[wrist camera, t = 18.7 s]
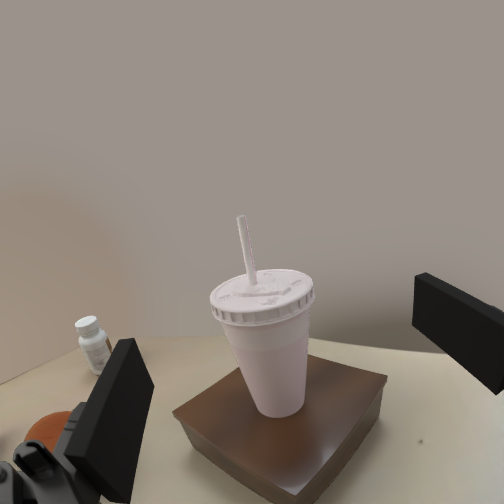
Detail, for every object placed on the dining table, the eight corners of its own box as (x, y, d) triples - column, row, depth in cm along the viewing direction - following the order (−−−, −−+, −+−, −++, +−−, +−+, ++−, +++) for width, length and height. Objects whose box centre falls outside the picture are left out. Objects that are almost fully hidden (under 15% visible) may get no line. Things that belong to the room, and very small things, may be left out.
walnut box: (381, 414, 21) (387, 375, 20) (299, 521, 13) (295, 497, 11) (277, 378, 30) (271, 342, 28) (189, 446, 21) (171, 411, 20)
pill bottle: (124, 364, 36) (105, 316, 34) (102, 379, 32) (79, 331, 30) (108, 356, 38) (90, 311, 36) (87, 370, 34) (66, 324, 33)
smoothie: (273, 367, 24) (245, 207, 21) (337, 388, 20) (325, 203, 16) (221, 409, 20) (171, 230, 16) (289, 444, 15) (252, 229, 12)
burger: (30, 455, 17) (6, 425, 16) (88, 420, 24) (69, 390, 23) (64, 514, 11) (31, 486, 10) (134, 466, 19) (111, 435, 17)
